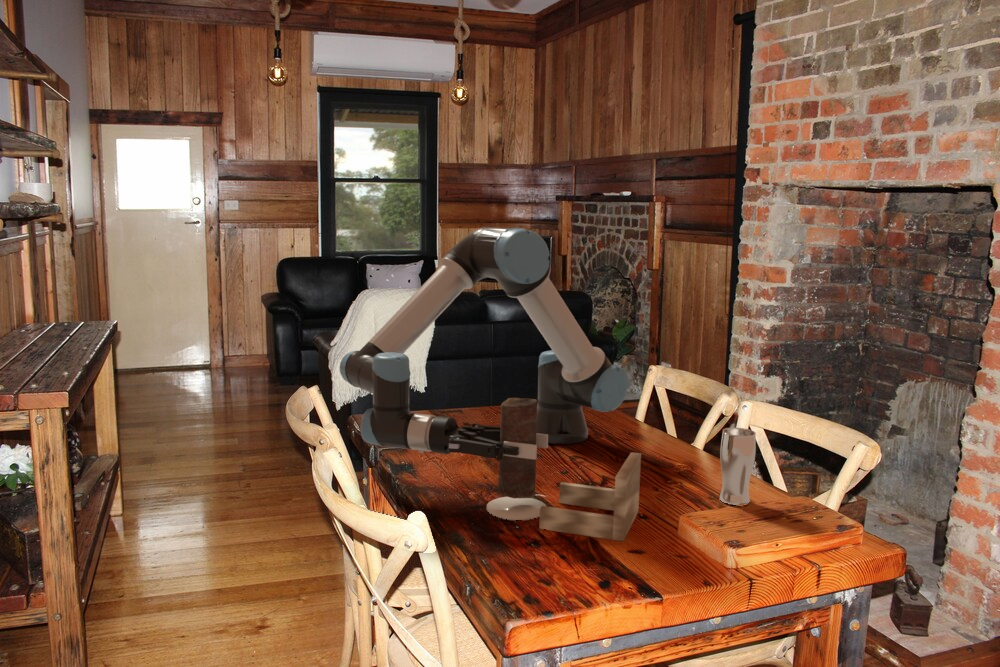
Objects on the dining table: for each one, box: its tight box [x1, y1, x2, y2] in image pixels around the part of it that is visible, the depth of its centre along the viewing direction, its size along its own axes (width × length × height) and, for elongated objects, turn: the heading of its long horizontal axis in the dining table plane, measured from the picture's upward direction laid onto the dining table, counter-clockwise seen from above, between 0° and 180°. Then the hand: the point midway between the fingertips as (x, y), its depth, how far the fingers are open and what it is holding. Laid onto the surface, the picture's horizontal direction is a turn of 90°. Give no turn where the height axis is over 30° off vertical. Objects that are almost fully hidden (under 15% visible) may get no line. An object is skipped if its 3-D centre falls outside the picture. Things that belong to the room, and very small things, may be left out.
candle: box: [498, 397, 538, 499], centre depth 164 cm, size 8×7×20 cm
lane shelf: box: [538, 451, 642, 542], centre depth 160 cm, size 16×16×12 cm
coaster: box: [486, 496, 547, 521], centre depth 166 cm, size 12×12×1 cm
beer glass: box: [719, 427, 757, 505], centre depth 172 cm, size 7×7×15 cm
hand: (541, 446), depth 162 cm, fingers closed on candle, 7 cm apart
